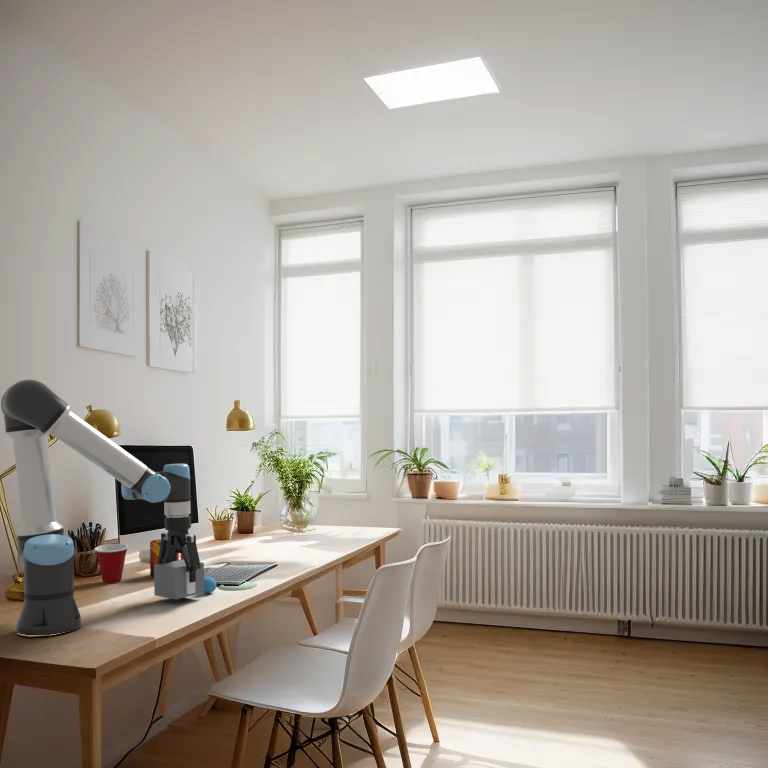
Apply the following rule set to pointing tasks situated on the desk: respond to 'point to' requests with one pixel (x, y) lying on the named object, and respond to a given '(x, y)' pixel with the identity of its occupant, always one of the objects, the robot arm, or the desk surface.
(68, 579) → the robot arm
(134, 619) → the desk surface
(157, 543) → the mug
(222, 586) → the disc
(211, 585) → the ball
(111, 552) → the plastic cup
